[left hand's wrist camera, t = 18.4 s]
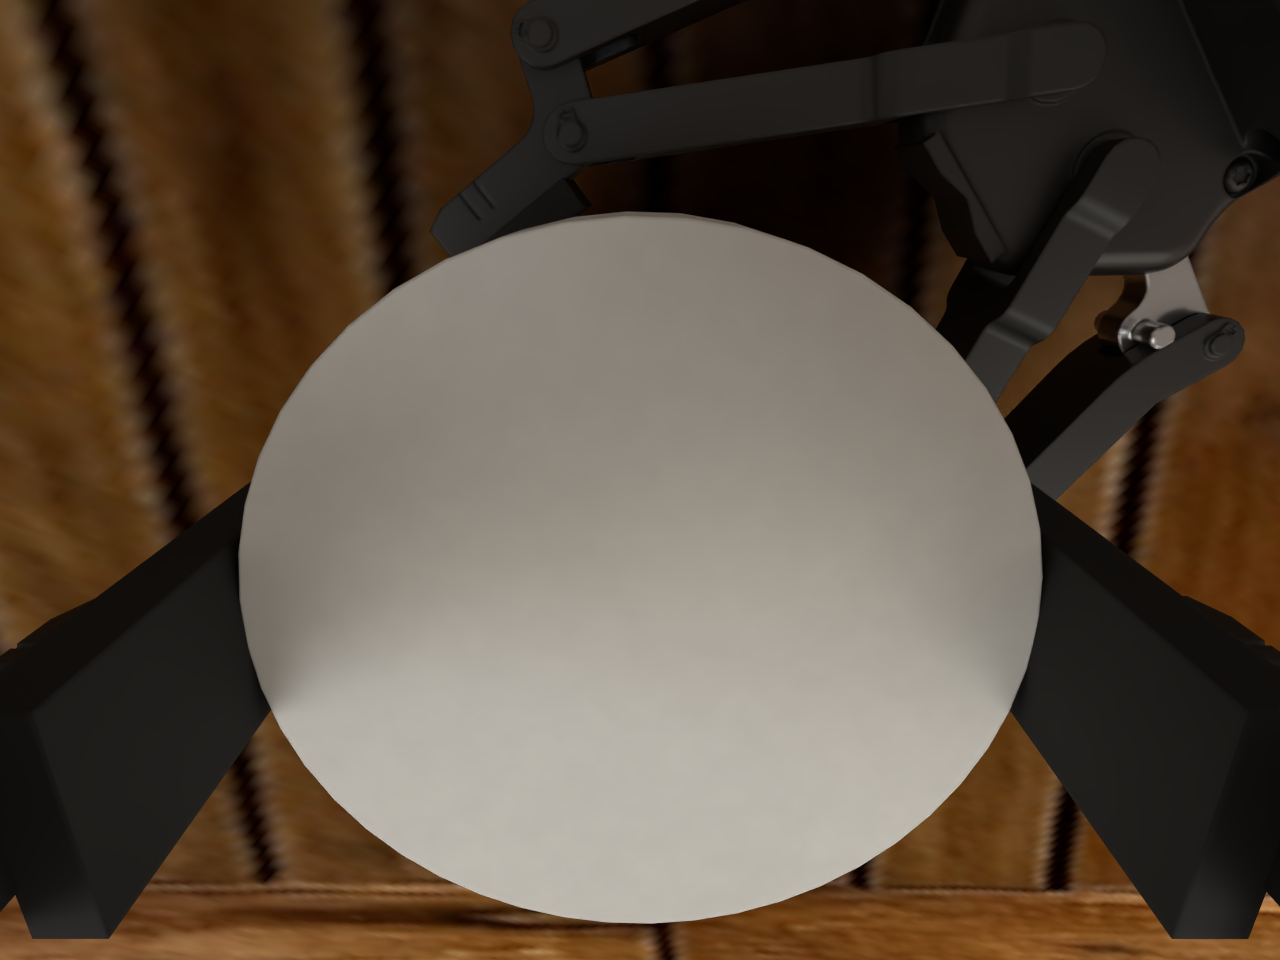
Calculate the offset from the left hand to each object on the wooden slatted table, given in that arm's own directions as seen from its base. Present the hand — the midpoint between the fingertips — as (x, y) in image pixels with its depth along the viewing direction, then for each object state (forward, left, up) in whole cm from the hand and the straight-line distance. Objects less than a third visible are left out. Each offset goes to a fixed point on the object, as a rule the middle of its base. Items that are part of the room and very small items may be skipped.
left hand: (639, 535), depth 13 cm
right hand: (+2, -4, -7) cm, 8 cm away
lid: (0, 0, +3) cm, 3 cm away
